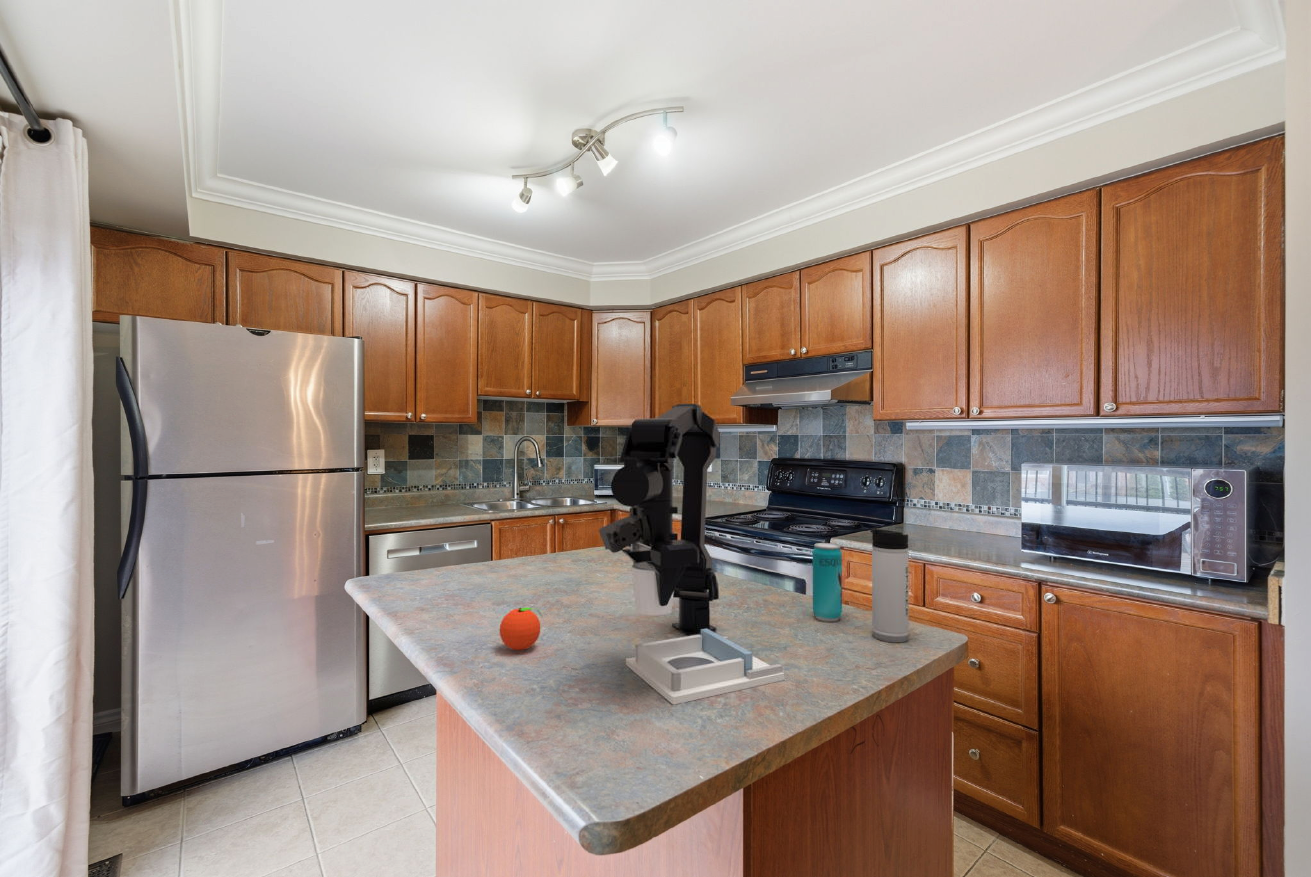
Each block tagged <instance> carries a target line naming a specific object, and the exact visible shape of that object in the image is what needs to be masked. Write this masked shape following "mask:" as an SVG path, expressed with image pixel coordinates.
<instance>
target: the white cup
mask: <svg viewBox="0 0 1311 877" xmlns="http://www.w3.org/2000/svg"><path fill="white" fill-rule="evenodd" d="M648 562H651V561H648ZM631 571H632V573H631V575H632V582H633V583H632V585H633V593H634V594H633V596H634V607H635V611H636V612H637V614H641V615H644V616H663V615H664V616H665V615H668V614H670V613H672V611H673V602H674V597H673V594H672V596H671V598H670V600H669V602H668V604H667V605H666V606H660V604H659V598H658V591H657V582H656V574H655V571H654V570H653V569H652V568H651V567H650V566H649V565H648V564H647V562H639V563H636V564H633V563H632V565H631ZM673 593H674V591H673Z"/></svg>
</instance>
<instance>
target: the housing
mask: <svg viewBox="0 0 1311 877" xmlns="http://www.w3.org/2000/svg"><path fill="white" fill-rule="evenodd" d="M723 637H724V638H725V639H727V640H729V641H730V637H728V636H726V635H725V636H723ZM625 666H627V668H629V669H630V670H631V671H632V672H634V673H635V674H636V675H637V676H638V677H640V678H641V680H643V681H644V682H646V683H647V684H648V685H649V686H650V687H651V688H653V690H655V691H656V692H657V693H658V694H659V695H661V696H662V697H663V698H664V699H665V700H667V702H669V703H671V704H672V705H677V704H683V703H686V702H691V701H696V700H701V699H705V698H710V697H713V696H718V695H722V694H727V693H732V692H737V691H742V690H745V689H750V688H754V687H759V686H763V685H764V686H765V685H768V684H772V683H776V682H777V683H778V682H781V681H782V682H783V681H785V672H783V665H781V664H779V663H776V664H773V665H772V664H771V665H770V664H768V663H767V662H764V661H763V660H761V659H759V658H757V657H755V656H754V655H753V669H752V670H747V671H746V676H745V675H744V660H743V659H741V658H737V659H732V660H727V661H720V660H719V659H717V658H715V657H714V656H712V655H711V654H709V653H707V652H706V651H704V650H702V636H701V634H694V635H686V636H683V637H676V638H671V639H670V638H669V639H663V640H657V641H650V642H645V643H639V644H635V656H634V657H627V658H625Z"/></svg>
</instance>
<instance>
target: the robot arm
mask: <svg viewBox="0 0 1311 877" xmlns="http://www.w3.org/2000/svg"><path fill="white" fill-rule="evenodd" d="M627 430H628V431H627V433H626V437H625V440H624V443H623V444H624V445H623V446H622V451H621V455H620V458H619V462H620V464H621V463H622V464H623V466H622V467H620V468H619V469H617V471H616V472H615V473H614V475H613V476H612V478H611V479H612V480H611V483H610V489H611V493H612V496H613V497H614V499H615V500H616V501H617V502H618V503H619V504H621V505H622V506H626V507H630V508H629V515H628V516H626V517H623V518H620V519H618V520H616V521H613V522H611V523H609V524H606V525H604V526H602V527H600V528H599V529H598V532H599V535H600V538H601V540H602V544H603V547H604V550H609V551H610V553H615V554H616V553H618V552H622V553H623V554H625V555H626V557H628V558H629V559H630V560H631V561H632V565H633V564H636V563H639V562H647V564H648V565H649V566H650V567H651V568H652V569H653V570H654V571H655V574H656V582H657V591H658V598H659V604H660V606H666V605H667V604H668V602H669V600H670V598H671V596H672V594H673V598H678V622H673V623H671V627H672V628H674V629H676V630H677V631H678V632H681V633H683V634H684V635H686V636H693V635H701V629H709V630H711V631H712V632H716V631H717V628H716V627H715V626H713V625H711V622H710V620H711V618H710V617H711V613H710V612H711V609H710V602H713V601H717V600H719V599H720V597H719V596H720V590H719V582H718V579H717V575H716V573H715V572H716V571H715V569H714V568H713V559H712V557H711V555H710V553H709V551H708V549H707V548H706V545H705V537H706V536H705V535H706V512H707V511H706V510H707V509H706V508H707V484H708V483H707V482H708V481H707V480H708V470H709V468H710V466H711V465H712V463H714V460H716V457H717V450H718V449H717V448H719V447H720V446H719V445H720V441H721V440H720V430H719V428H718V425H717V423H716V420H715V419H713V418H712V417H711V416H709V415H708V414H707V413H705V412H704V411H703V409H702V407H701V405H700V404H697V403H676V404H675V405H672V407H671V408H670V409H669V410H667V411H665V412H664V413H662V414H661V415H659V416H657V417H654V418H639V419H638V418H637V419H635V420H633V421H632V423H631V425H630V426H629V428H628V429H627ZM677 458H678V460H679V462H680V463H681V465H682V466H683V477H682V479H683V480H682V482H683V483H682V500H681V519H680V520H681V521H680V522H681V523H680V539H679V538H678V536H679V534H678V533H677V532H674V531H673V528H674V527H673V514H679V513H678V511H679V510H678V506H676V505H674V504H673V469H674V468H675V466H674V464H673V462H674V460H675V459H677ZM624 548H625V549H624ZM648 561H651V562H648ZM673 591H674V593H673Z"/></svg>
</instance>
